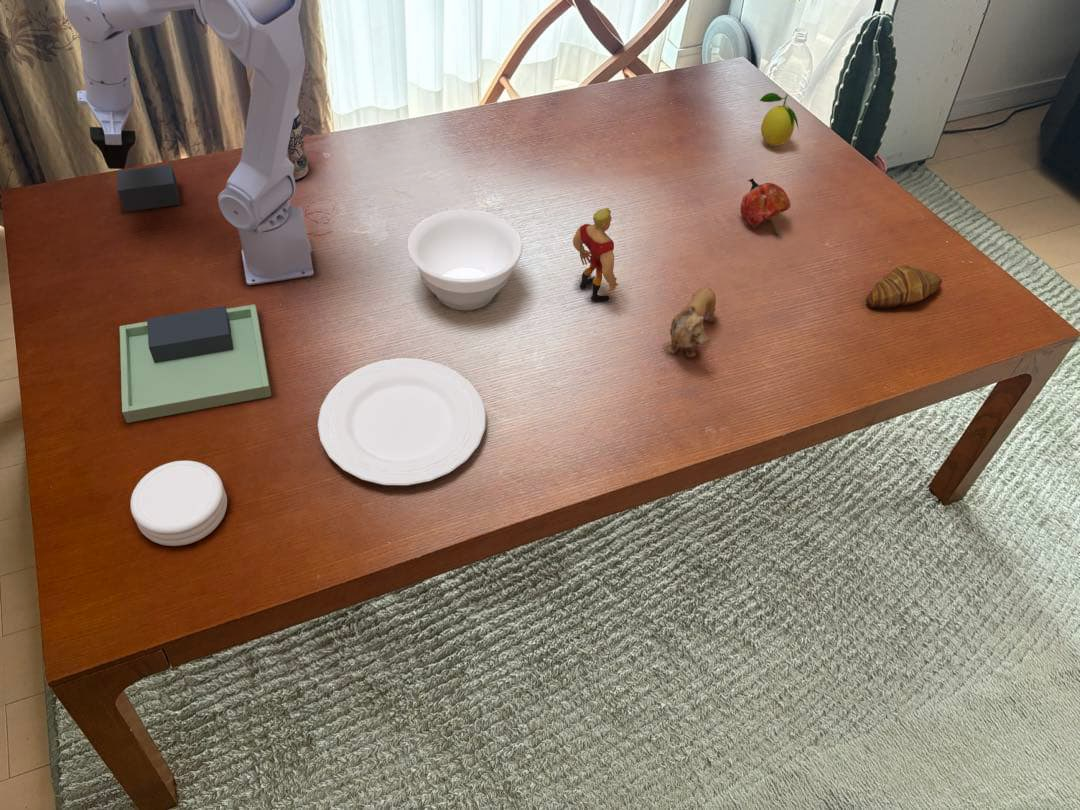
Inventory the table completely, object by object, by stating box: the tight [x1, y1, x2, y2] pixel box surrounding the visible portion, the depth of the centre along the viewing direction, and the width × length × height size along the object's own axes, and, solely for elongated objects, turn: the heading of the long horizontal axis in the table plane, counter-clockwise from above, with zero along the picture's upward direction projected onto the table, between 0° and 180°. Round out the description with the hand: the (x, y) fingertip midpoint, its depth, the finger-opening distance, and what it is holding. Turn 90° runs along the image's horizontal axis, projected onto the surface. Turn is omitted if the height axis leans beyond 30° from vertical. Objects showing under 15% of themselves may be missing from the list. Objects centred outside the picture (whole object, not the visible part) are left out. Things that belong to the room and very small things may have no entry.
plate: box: [317, 357, 487, 487], centre depth 116 cm, size 21×21×2 cm
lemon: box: [759, 92, 800, 147], centre depth 160 cm, size 7×6×10 cm
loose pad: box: [116, 164, 181, 213], centre depth 142 cm, size 8×5×4 cm, turn 107°
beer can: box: [286, 106, 309, 180], centre depth 146 cm, size 5×5×12 cm
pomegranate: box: [740, 178, 791, 237], centre depth 146 cm, size 7×7×10 cm
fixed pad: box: [146, 305, 233, 363], centre depth 122 cm, size 10×6×3 cm, turn 108°
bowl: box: [406, 208, 524, 311], centre depth 131 cm, size 16×16×8 cm
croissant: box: [865, 265, 943, 310], centre depth 137 cm, size 14×7×5 cm, turn 115°
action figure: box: [572, 207, 619, 303], centre depth 130 cm, size 10×4×15 cm, turn 31°
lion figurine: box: [667, 287, 717, 358], centre depth 127 cm, size 15×5×9 cm, turn 162°
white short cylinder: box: [130, 460, 228, 547], centre depth 105 cm, size 10×10×4 cm
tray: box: [119, 304, 272, 424], centre depth 121 cm, size 18×16×2 cm
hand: (114, 148), depth 133 cm, fingers open, 7 cm apart
